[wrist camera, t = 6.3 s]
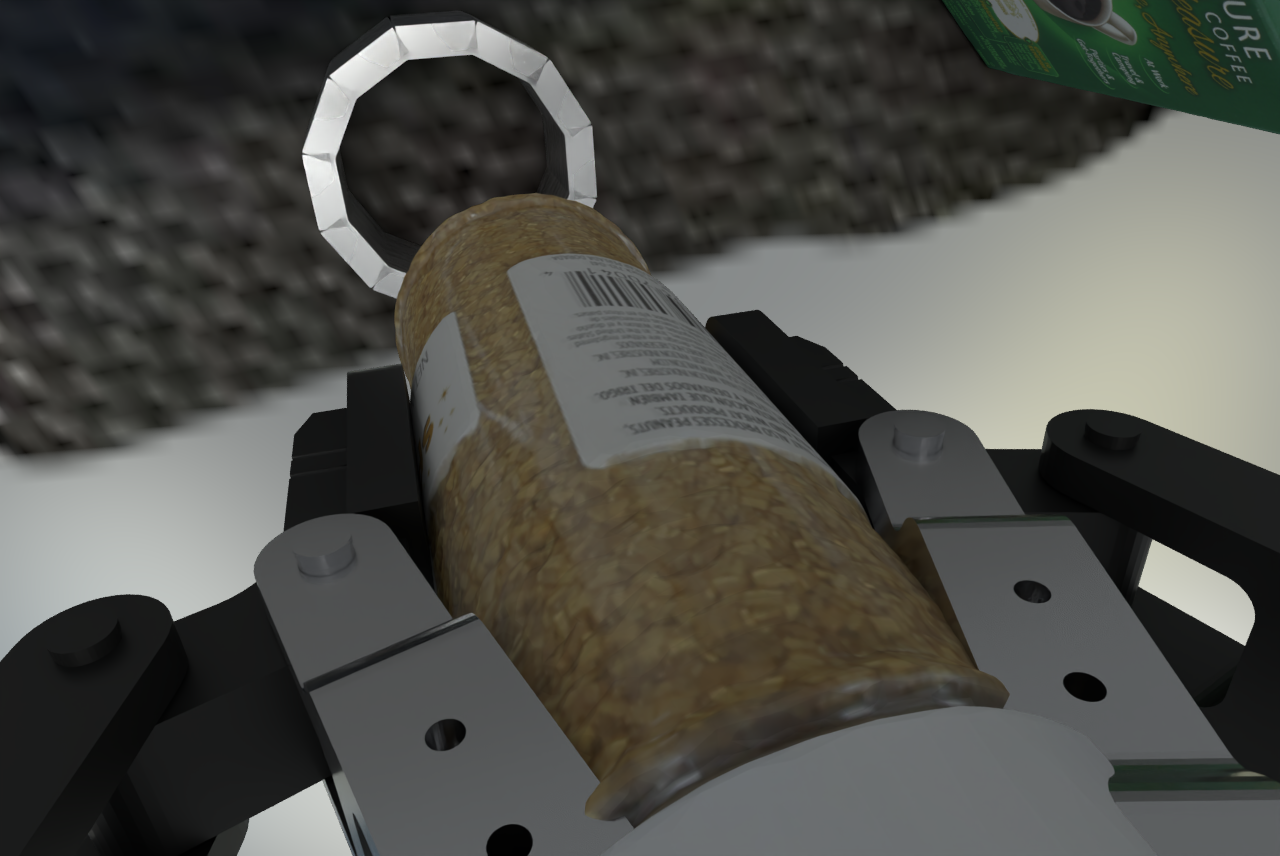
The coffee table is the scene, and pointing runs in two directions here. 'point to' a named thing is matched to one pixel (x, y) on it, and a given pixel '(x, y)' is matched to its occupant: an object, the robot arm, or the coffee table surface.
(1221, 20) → the coffee box
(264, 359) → the coffee table surface
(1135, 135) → the coffee table surface
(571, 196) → the aluminium ring
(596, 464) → the sprinkles bottle
